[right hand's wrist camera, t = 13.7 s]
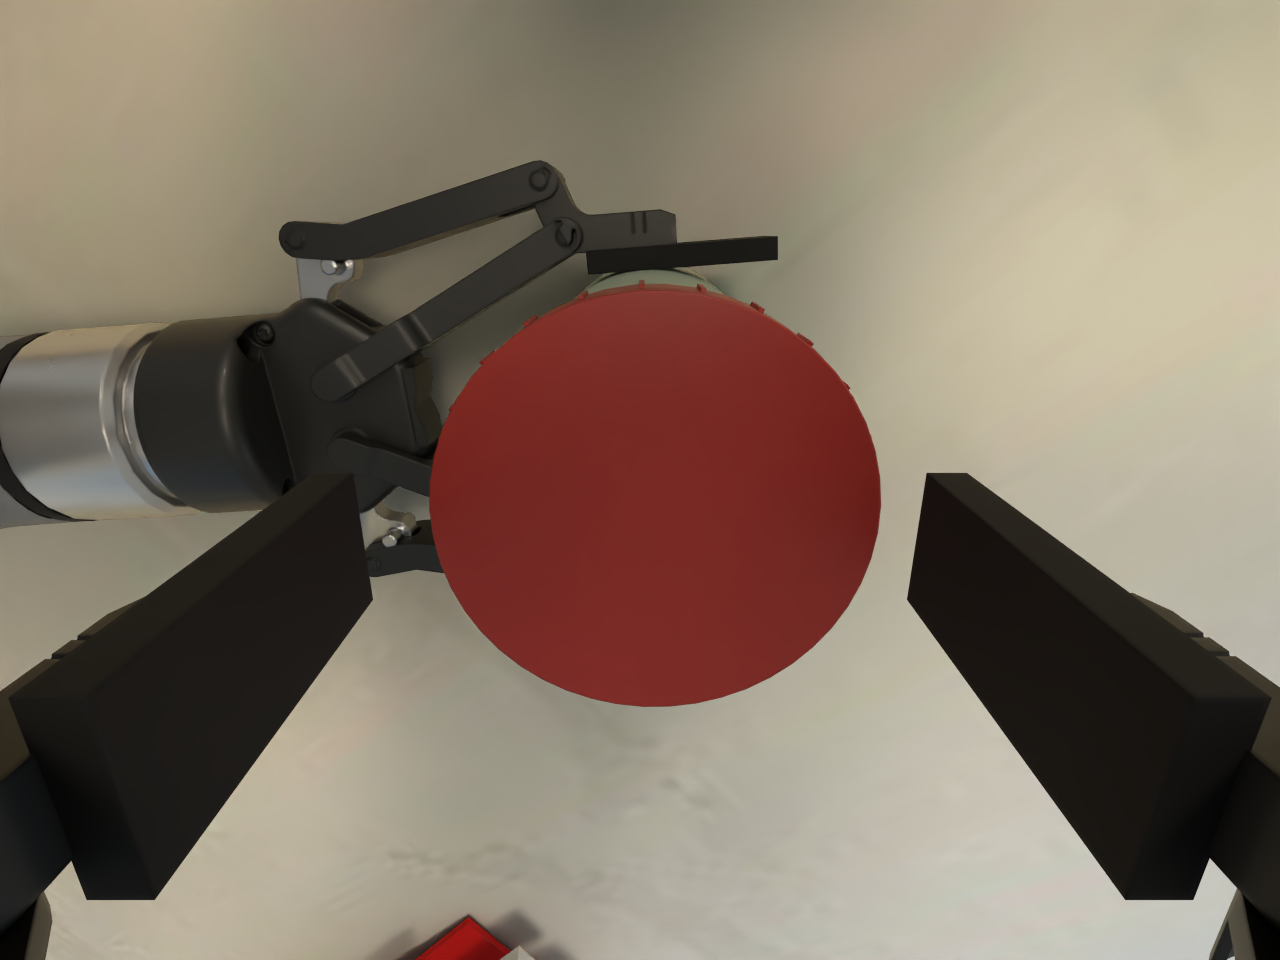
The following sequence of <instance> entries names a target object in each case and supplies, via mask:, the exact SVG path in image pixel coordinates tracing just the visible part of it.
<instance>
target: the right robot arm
mask: <svg viewBox="0 0 1280 960" xmlns="http://www.w3.org/2000/svg"><path fill="white" fill-rule="evenodd" d="M372 600H373V597H372V591H371V584H370V578H369V571H368V565H367V558H366V552H365V545H364V539H363V533H362V526H361V520H360V513H359V507H358V500H357V494H356V487H355V481H354V475H353V473H312V474H311V475H310V476H308V477H307V478H306V479H304V480H303V481H302V482H300V483H299V484H298V485H296V486H295V487H293V488H292V489H291V490H289V491H288V492H287V493H285V494H284V495H283V496H281V497H280V498H279V499H277V500H276V501H274V502H273V503H272V504H270V505H269V506H268V507H266V508H265V509H264V510H262V511H261V512H260V513H258V514H257V515H255V516H254V517H253V518H251V519H250V520H249V521H247V522H246V523H245V524H243V525H242V526H241V527H239V528H238V529H236V530H235V531H234V532H232V533H231V534H230V535H228V536H227V537H226V538H224V539H223V540H222V541H220V542H219V543H217V544H216V545H215V546H213V547H212V548H211V549H209V550H208V551H207V552H205V553H204V554H203V555H201V556H200V557H198V558H197V559H196V560H194V561H193V562H192V563H190V564H189V565H188V566H186V567H185V568H184V569H182V570H181V571H179V572H178V573H177V574H175V575H174V576H173V577H171V578H170V579H169V580H167V581H166V582H165V583H163V584H162V585H160V586H159V587H158V588H156V589H155V590H154V591H152V592H151V593H150V594H148V595H147V596H146V597H143V598H141V599H139V600H137V601H135V602H133V603H131V604H128V605H126V606H124V607H122V608H120V609H118V610H116V611H113V612H111V613H109V614H107V615H106V616H105V617H103V618H102V619H100V620H99V621H98V622H96V623H95V624H93V625H92V626H91V627H89V628H88V629H86V630H85V631H84V632H82V633H81V634H79V635H78V638H77V640H71V641H70V642H68V643H67V644H66V645H64V646H63V647H61V648H60V649H59V650H57V651H56V652H54V653H53V654H52V658H51V659H45V660H43V661H42V662H40V663H39V664H38V665H36V666H35V667H33V668H32V669H31V670H29V671H28V672H26V673H25V674H24V675H22V676H21V677H20V678H18V679H17V680H15V681H14V682H13V683H11V684H10V685H8V686H7V687H6V688H4V689H3V690H1V691H0V960H45V958H46V952H47V947H48V942H49V936H50V931H51V925H52V916H51V909H50V905H49V902H48V900H47V897H46V895H45V893H44V890H45V889H46V888H47V887H48V886H49V885H50V884H51V883H52V881H53V880H54V879H55V878H56V877H57V876H58V875H59V874H60V873H61V871H62V870H63V869H64V868H65V867H66V866H67V865H68V864H69V863H70V862H71V861H72V863H73V866H74V868H75V871H76V874H77V876H78V879H79V881H80V884H81V886H82V889H83V892H84V894H85V897H86V899H87V900H155V899H156V897H157V896H158V895H159V893H160V892H161V890H162V889H163V888H164V886H165V885H166V884H167V882H168V881H169V879H170V878H171V877H172V875H173V874H174V873H175V871H176V870H177V868H178V867H179V866H180V864H181V863H182V862H183V860H184V859H185V857H186V856H187V855H188V853H189V852H190V851H191V849H192V848H193V846H194V845H195V844H196V842H197V841H198V840H199V838H200V837H201V835H202V834H203V833H204V831H205V830H206V829H207V827H208V826H209V824H210V823H211V822H212V820H213V819H214V818H215V816H216V815H217V813H218V812H219V811H220V809H221V808H222V807H223V805H224V804H225V802H226V801H227V800H228V798H229V797H230V796H231V794H232V793H233V791H234V790H235V789H236V787H237V786H238V785H239V783H240V782H241V780H242V779H243V778H244V776H245V775H246V774H247V772H248V771H249V769H250V768H251V767H252V765H253V764H254V763H255V761H256V760H257V758H258V757H259V756H260V754H261V753H262V752H263V750H264V749H265V747H266V746H267V745H268V743H269V742H270V741H271V739H272V738H273V736H274V735H275V734H276V732H277V731H278V730H279V728H280V727H281V725H282V724H283V723H284V721H285V720H286V719H287V717H288V716H289V714H290V713H291V712H292V710H293V709H294V707H295V706H296V705H297V703H298V702H299V701H300V699H301V698H302V696H303V695H304V694H305V692H306V691H307V690H308V688H309V687H310V685H311V684H312V683H313V681H314V680H315V679H316V677H317V676H318V674H319V673H320V672H321V670H322V669H323V668H324V666H325V665H326V663H327V662H328V661H329V659H330V658H331V657H332V655H333V654H334V652H335V651H336V650H337V648H338V647H339V646H340V644H341V643H342V641H343V640H344V639H345V637H346V636H347V635H348V633H349V632H350V630H351V629H352V628H353V626H354V625H355V624H356V622H357V621H358V619H359V618H360V617H361V615H362V614H363V613H364V611H365V610H366V608H367V607H368V606H369V604H370V603H371V602H372ZM907 600H908V602H909V603H910V604H911V606H912V607H913V608H914V610H915V611H916V613H917V614H918V615H919V617H920V618H921V619H922V621H923V622H924V624H925V625H926V626H927V628H928V629H929V630H930V632H931V633H932V635H933V636H934V637H935V639H936V640H937V641H938V643H939V644H940V646H941V647H942V648H943V650H944V651H945V652H946V654H947V655H948V657H949V658H950V659H951V661H952V662H953V663H954V665H955V666H956V668H957V669H958V670H959V672H960V673H961V674H962V676H963V677H964V679H965V680H966V681H967V683H968V684H969V685H970V687H971V688H972V690H973V691H974V692H975V694H976V695H977V696H978V698H979V699H980V701H981V702H982V703H983V705H984V706H985V707H986V709H987V710H988V712H989V713H990V714H991V716H992V717H993V719H994V720H995V721H996V723H997V724H998V725H999V727H1000V728H1001V730H1002V731H1003V732H1004V734H1005V735H1006V736H1007V738H1008V739H1009V741H1010V742H1011V743H1012V745H1013V746H1014V747H1015V749H1016V750H1017V752H1018V753H1019V754H1020V756H1021V757H1022V758H1023V760H1024V761H1025V763H1026V764H1027V765H1028V767H1029V768H1030V769H1031V771H1032V772H1033V774H1034V775H1035V776H1036V778H1037V779H1038V780H1039V782H1040V783H1041V785H1042V786H1043V787H1044V789H1045V790H1046V791H1047V793H1048V794H1049V796H1050V797H1051V798H1052V800H1053V801H1054V802H1055V804H1056V805H1057V807H1058V808H1059V809H1060V811H1061V812H1062V813H1063V815H1064V816H1065V818H1066V819H1067V820H1068V822H1069V823H1070V824H1071V826H1072V827H1073V829H1074V830H1075V831H1076V833H1077V834H1078V835H1079V837H1080V838H1081V840H1082V841H1083V842H1084V844H1085V845H1086V846H1087V848H1088V849H1089V851H1090V852H1091V853H1092V855H1093V856H1094V857H1095V859H1096V860H1097V862H1098V863H1099V864H1100V866H1101V867H1102V868H1103V870H1104V871H1105V873H1106V874H1107V875H1108V877H1109V878H1110V879H1111V881H1112V882H1113V884H1114V885H1115V886H1116V888H1117V889H1118V890H1119V892H1120V893H1121V895H1122V896H1123V897H1124V899H1125V900H1193V899H1194V897H1195V894H1196V892H1197V889H1198V886H1199V884H1200V881H1201V879H1202V876H1203V874H1204V871H1205V868H1206V866H1207V863H1208V861H1209V858H1210V859H1211V860H1212V861H1213V862H1214V863H1215V864H1216V865H1217V866H1218V867H1219V868H1220V870H1221V871H1222V872H1223V873H1224V874H1225V875H1226V876H1227V877H1228V878H1229V879H1230V881H1231V882H1232V883H1233V884H1234V885H1235V886H1236V887H1237V890H1236V893H1235V895H1234V897H1233V900H1232V902H1231V905H1230V907H1229V909H1228V912H1227V914H1226V917H1225V919H1224V921H1223V924H1222V926H1221V929H1220V931H1219V933H1218V936H1217V938H1216V941H1215V943H1214V945H1213V948H1212V950H1211V953H1210V957H1209V960H1227V959H1228V958H1230V957H1233V956H1235V960H1280V687H1278V686H1277V685H1275V684H1274V683H1273V682H1271V681H1270V680H1268V679H1267V678H1266V677H1264V676H1263V675H1261V674H1260V673H1259V672H1257V671H1256V670H1254V669H1253V668H1252V667H1250V666H1249V665H1247V664H1246V663H1245V662H1243V661H1242V660H1240V659H1239V658H1237V657H1236V656H1230V655H1229V651H1228V650H1226V649H1225V648H1223V647H1222V646H1221V645H1219V644H1218V643H1216V642H1215V641H1214V640H1212V639H1211V638H1204V636H1203V633H1202V632H1201V631H1200V630H1198V629H1197V628H1195V627H1194V626H1193V625H1191V624H1190V623H1188V622H1187V621H1185V620H1184V619H1183V618H1181V617H1180V616H1178V615H1177V614H1176V613H1174V612H1173V611H1171V610H1169V609H1166V608H1164V607H1162V606H1160V605H1158V604H1156V603H1153V602H1151V601H1149V600H1147V599H1145V598H1143V597H1140V596H1138V595H1136V594H1134V593H1129V592H1128V591H1126V590H1125V589H1124V588H1122V587H1121V586H1120V585H1118V584H1117V583H1115V582H1114V581H1113V580H1111V579H1110V578H1109V577H1107V576H1106V575H1105V574H1103V573H1102V572H1101V571H1099V570H1098V569H1096V568H1095V567H1094V566H1092V565H1091V564H1090V563H1088V562H1087V561H1086V560H1084V559H1083V558H1082V557H1080V556H1079V555H1077V554H1076V553H1075V552H1073V551H1072V550H1071V549H1069V548H1068V547H1067V546H1065V545H1064V544H1063V543H1061V542H1060V541H1058V540H1057V539H1056V538H1054V537H1053V536H1052V535H1050V534H1049V533H1048V532H1046V531H1045V530H1044V529H1042V528H1041V527H1039V526H1038V525H1037V524H1035V523H1034V522H1033V521H1031V520H1030V519H1029V518H1027V517H1026V516H1025V515H1023V514H1022V513H1020V512H1019V511H1018V510H1016V509H1015V508H1014V507H1012V506H1011V505H1010V504H1008V503H1007V502H1006V501H1004V500H1003V499H1001V498H1000V497H999V496H997V495H996V494H995V493H993V492H992V491H991V490H989V489H988V488H987V487H985V486H984V485H982V484H981V483H980V482H978V481H977V480H976V479H974V478H973V477H972V476H970V475H969V474H968V473H927V475H926V481H925V487H924V494H923V500H922V507H921V513H920V520H919V526H918V533H917V539H916V545H915V552H914V558H913V565H912V571H911V578H910V584H909V591H908V597H907Z"/></svg>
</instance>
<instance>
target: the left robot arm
mask: <svg viewBox="0 0 1280 960" xmlns="http://www.w3.org/2000/svg"><path fill="white" fill-rule="evenodd" d="M532 209H536V212H537V214H538V216H539V218H540V220H541V222H542V224H543V226H544V227H543V228H542V229H540V230H539V231H537V232H535V233H534V234H532V235H531V236H529V237H528V238H526V239H524V240H523V241H521V242H520V243H518V244H517V245H515V246H514V247H512V248H510V249H509V250H507V251H506V252H504V253H503V254H501V255H500V256H498V257H496V258H495V259H493V260H492V261H490V262H489V263H487V264H486V265H484V266H482V267H481V268H479V269H478V270H476V271H475V272H473V273H472V274H470V275H468V276H467V277H465V278H464V279H462V280H461V281H459V282H458V283H456V284H454V285H453V286H451V287H450V288H448V289H447V290H445V291H444V292H442V293H440V294H439V295H437V296H436V297H434V298H433V299H431V300H430V301H428V302H426V303H425V304H423V305H422V306H420V307H419V308H417V309H416V310H414V311H412V312H411V313H409V314H407V315H405V316H403V317H402V318H400V319H398V320H396V321H395V322H393V323H392V324H390V325H388V326H387V327H386V326H384V325H383V324H381V323H379V322H378V321H376V320H374V319H372V318H371V317H369V316H367V315H366V314H364V313H362V312H360V311H359V310H357V309H355V308H354V307H352V306H350V305H348V304H347V303H345V302H343V301H342V300H340V299H338V292H339V289H340V287H341V286H342V285H343V284H344V283H346V282H349V281H353V280H356V279H358V278H359V277H360V276H361V275H362V273H363V271H364V259H368V258H377V257H385V256H389V255H393V254H396V253H399V252H403V251H406V250H409V249H412V248H415V247H418V246H421V245H424V244H427V243H430V242H433V241H436V240H439V239H443V238H446V237H449V236H452V235H455V234H458V233H461V232H464V231H467V230H470V229H473V228H476V227H479V226H482V225H486V224H489V223H492V222H495V221H498V220H501V219H504V218H507V217H510V216H513V215H516V214H519V213H522V212H525V211H529V210H532ZM279 241H280V244H281V247H282V248H283V250H284V251H285V252H286V253H287V254H289V255H290V256H291V257H295V258H296V262H297V271H298V280H299V289H300V299H301V300H298V301H296V302H295V303H293V304H292V305H291V306H289V307H288V308H287V309H285V310H284V311H282V312H280V313H274V314H261V315H249V316H236V317H223V318H210V319H198V320H186V321H180V322H176V323H173V324H171V325H169V324H165V323H161V322H159V323H146V324H133V325H120V326H107V327H95V328H82V329H69V330H56V331H53V332H45V333H37V334H32V335H19V336H2V337H0V529H2V528H7V527H14V526H26V525H39V524H52V523H64V522H77V521H95V520H107V519H126V518H145V517H164V516H182V515H190V514H196V513H199V512H201V511H204V512H208V513H221V512H236V511H251V510H264V509H265V508H266V507H268V506H269V505H270V504H272V503H273V502H274V501H276V500H277V499H279V498H280V497H281V496H283V495H284V494H285V493H287V492H288V491H289V490H291V489H292V488H293V487H295V486H296V485H298V484H299V483H300V482H302V481H303V480H304V479H306V478H307V477H308V476H310V475H311V474H312V473H353V475H354V481H355V487H356V494H357V500H358V507H359V513H360V520H361V526H362V533H363V539H364V545H365V552H366V558H367V565H368V571H369V576H370V577H380V576H385V575H390V574H395V573H401V572H406V571H411V570H424V571H432V572H440V573H444V571H443V568H442V566H441V564H440V560H439V557H438V553H437V549H436V546H435V542H434V539H433V532H432V525H431V520H421V521H416V520H415V516H414V515H413V514H412V513H409V512H406V513H405V512H395V511H392V510H390V509H389V508H387V507H386V506H385V504H384V502H383V499H384V498H386V497H387V496H388V495H389V494H390V493H391V492H392V491H393V490H395V489H396V488H397V487H398V486H400V487H403V488H405V489H408V490H411V491H414V492H416V493H419V494H422V495H425V496H428V497H430V479H431V472H432V465H433V459H434V454H435V451H436V447H437V444H438V441H439V437H440V434H441V431H442V426H441V421H440V415H439V413H438V411H437V409H436V407H435V404H434V402H433V400H432V398H431V389H432V371H431V366H430V360H429V358H424V357H423V355H422V353H421V352H420V351H422V350H423V349H425V348H426V347H428V346H430V345H431V344H433V343H434V342H436V341H438V340H439V339H441V338H442V337H444V336H445V335H447V334H448V333H450V332H451V331H453V330H454V329H456V328H458V327H459V326H461V325H462V324H464V323H466V322H467V321H469V320H470V319H472V318H474V317H475V316H477V315H478V314H480V313H482V312H483V311H485V310H486V309H488V308H490V307H491V306H493V305H494V304H496V303H498V302H499V301H501V300H502V299H504V298H505V297H507V296H509V295H510V294H512V293H513V292H515V291H517V290H518V289H520V288H521V287H523V286H525V285H526V284H528V283H529V282H531V281H533V280H534V279H536V278H537V277H539V276H541V275H542V274H544V273H545V272H547V271H549V270H550V269H552V268H553V267H555V266H556V265H558V264H560V263H561V262H563V261H564V260H566V259H568V258H569V257H571V256H572V255H574V254H576V253H586V256H587V267H588V275H589V274H602V273H614V272H627V271H639V270H653V269H665V268H678V267H691V266H704V265H716V264H729V263H742V262H755V261H768V260H778V236H758V237H745V238H732V239H720V240H707V241H695V242H682V243H677V237H676V218H675V214H672V213H669V212H666V211H663V210H649V211H636V212H624V213H612V214H599V215H587V214H585V213H583V212H582V211H580V210H579V209H578V208H577V206H576V205H575V203H574V201H573V199H572V197H571V194H570V192H569V190H568V188H567V185H566V183H565V179H564V177H563V175H562V173H560V172H559V171H558V170H557V169H556V168H554V167H553V166H551V165H550V164H548V163H547V162H544V161H541V160H540V161H532V162H529V163H526V164H523V165H520V166H517V167H514V168H511V169H508V170H505V171H502V172H499V173H496V174H493V175H490V176H487V177H484V178H481V179H478V180H475V181H472V182H469V183H466V184H464V185H461V186H458V187H455V188H452V189H449V190H446V191H443V192H440V193H437V194H434V195H431V196H428V197H425V198H422V199H419V200H416V201H413V202H410V203H407V204H404V205H401V206H398V207H395V208H392V209H389V210H386V211H383V212H380V213H377V214H374V215H371V216H368V217H365V218H362V219H359V220H356V221H353V222H350V223H347V224H346V223H330V222H302V221H293V222H287V223H286V224H285V225H283V226H282V228H281V230H280V232H279Z"/></svg>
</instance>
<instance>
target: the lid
mask: <svg viewBox="0 0 1280 960" xmlns="http://www.w3.org/2000/svg"><path fill="white" fill-rule="evenodd" d="M764 310H765V309H763V308H762V307H760V306H759V305H757V304H756V303H754V302H752V303H751V305H748V304H746V303H743V302H741V301H738V300H736V299H734V298H731V297H729V296H726V295H724V294H720V293H716V292H712V291H708V290H707V289H706V288H705V287H704V286H703V285H702V284H697V287H690V286H681V285H673V284H645V280H639V284H635V285H628V286H622V287H615V288H609V289H604V290H601V291H598V292H594V293H591V294H589V293H588V290H586V291H583V292H582V293H581V294H579V295H578V298H576V299H574V300H571V301H569V302H567V303H565V304H563V305H560V306H558V307H556V308H554V309H552V310H550V311H549V312H547V313H545V314H544V315H542V316H541V317H539V318H538V317H537V315H536V314H535V315H534V316H532V317H531V318H529V319H528V320H527V321H525V322H524V323H523V324H524V326H525V327H524V328H523V329H522V330H520V331H519V332H518V333H516V334H515V335H514V336H513V337H511V338H510V339H509V340H508V341H507V342H506V343H504V344H503V345H502V346H501V347H500V348H499V349H497V350H496V351H494V350H493V351H492V352H491V353H490V354H488V355H487V356H486V357H484V358H483V359H482V360H481V361H480V362H479V363H480V364H481V365H482V366H481V367H480V368H479V369H478V370H477V371H476V372H475V374H474V375H473V376H472V377H471V378H470V380H469V381H468V383H467V384H466V386H465V387H464V389H463V390H462V392H461V393H460V395H459V396H458V398H457V399H456V401H455V402H454V404H453V405H452V406H451V407H450V409H449V411H450V413H449V415H448V417H447V419H446V422H445V424H444V426H443V428H442V431H441V434H440V437H439V441H438V444H437V447H436V451H435V454H434V459H433V465H432V472H431V479H430V518H431V525H432V532H433V539H434V542H435V546H436V549H437V553H438V557H439V560H440V564H441V566H442V568H443V571H444V573H445V575H446V578H447V580H448V582H449V585H450V587H451V589H452V591H453V592H454V594H455V596H456V597H457V599H458V601H459V602H460V604H461V606H462V607H463V609H464V611H465V612H466V613H467V614H468V616H469V617H470V618H471V620H472V621H473V622H474V623H475V625H476V626H477V627H478V628H479V630H480V631H481V632H482V633H483V634H484V635H485V636H486V637H487V638H488V639H489V640H490V641H491V642H492V643H493V644H494V645H495V646H496V647H497V648H498V649H499V650H500V651H502V652H503V653H504V654H505V655H507V656H508V657H509V658H511V659H512V660H513V661H514V662H516V663H517V664H518V665H520V666H521V667H523V668H524V669H526V670H528V671H529V672H531V673H533V674H534V675H536V676H538V677H539V678H541V679H543V680H545V681H547V682H549V683H551V684H554V685H556V686H558V687H560V688H562V689H565V690H567V691H570V692H573V693H576V694H579V695H582V696H585V697H588V698H591V699H596V700H600V701H605V702H610V703H615V704H622V705H632V706H642V707H661V706H678V705H686V704H695V703H700V702H704V701H708V700H713V699H717V698H722V697H724V696H727V695H730V694H733V693H736V692H739V691H742V690H745V689H747V688H749V687H751V686H754V685H756V684H758V683H760V682H762V681H764V680H766V679H768V678H770V677H772V676H773V675H775V674H777V673H778V672H780V671H781V670H783V669H785V668H786V667H788V666H789V665H791V664H793V663H794V662H795V661H796V660H798V659H799V658H800V657H801V656H803V655H804V654H805V653H806V652H808V651H809V650H810V649H811V648H813V647H814V646H815V645H816V644H817V643H818V642H819V641H820V639H821V638H822V637H823V636H824V635H825V634H826V633H827V632H828V631H829V630H830V629H831V628H832V627H833V626H834V624H835V623H836V622H837V620H838V619H839V618H840V616H841V615H842V614H843V612H844V611H845V610H846V609H847V607H848V606H849V604H850V602H851V600H852V599H853V597H854V595H855V593H856V592H857V590H858V588H859V586H860V585H861V582H862V580H863V578H864V575H865V573H866V570H867V568H868V565H869V563H870V560H871V557H872V554H873V550H874V546H875V542H876V538H877V534H878V527H879V519H880V510H881V489H880V474H879V468H878V463H877V457H876V451H875V448H874V445H873V442H872V438H871V435H870V433H869V429H868V426H867V423H866V421H865V419H864V417H863V415H862V413H861V411H860V409H859V407H858V405H857V403H856V401H855V399H854V397H853V396H852V394H851V393H850V391H849V389H850V387H849V386H848V384H846V383H845V382H844V381H842V380H841V379H840V377H839V376H838V374H837V373H836V372H835V371H834V370H833V368H832V367H831V366H830V365H829V364H828V363H827V362H826V361H825V360H824V359H823V358H822V357H821V356H820V355H819V354H818V353H817V352H816V350H815V349H813V348H812V345H813V343H812V342H811V341H810V340H809V339H807V338H806V337H804V336H803V335H801V334H800V333H798V334H797V335H796V334H794V333H793V332H792V331H791V330H789V329H788V328H786V327H785V326H783V325H782V324H781V323H779V322H778V321H776V320H775V319H773V318H771V317H769V316H768V315H766V314H764V313H763V312H764Z"/></svg>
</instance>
